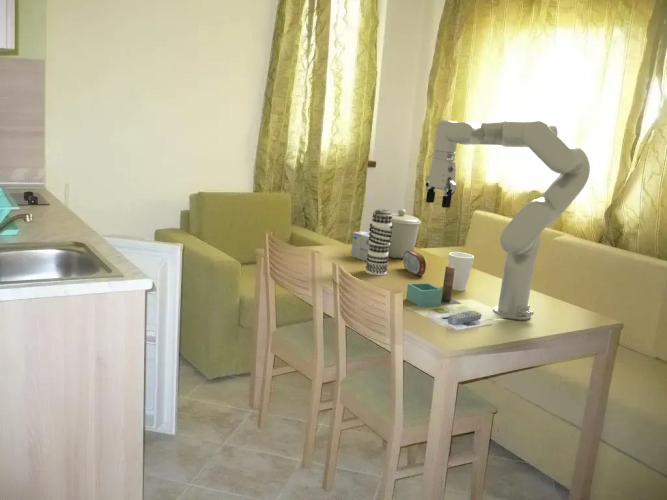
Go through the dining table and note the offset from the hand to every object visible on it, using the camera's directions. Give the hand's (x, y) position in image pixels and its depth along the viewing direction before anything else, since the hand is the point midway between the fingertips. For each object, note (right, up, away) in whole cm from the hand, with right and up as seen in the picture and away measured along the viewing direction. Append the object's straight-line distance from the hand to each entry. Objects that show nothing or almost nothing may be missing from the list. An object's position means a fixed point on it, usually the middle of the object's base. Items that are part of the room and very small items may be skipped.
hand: (437, 204), depth 246 cm
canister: (-9, -19, +62) cm, 65 cm away
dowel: (+2, -34, -3) cm, 34 cm away
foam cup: (+10, -31, +17) cm, 36 cm away
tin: (-5, -25, +35) cm, 43 cm away
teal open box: (-6, -34, -8) cm, 36 cm away
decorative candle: (-20, -25, +29) cm, 43 cm away
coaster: (+2, -34, -3) cm, 34 cm away
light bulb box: (-24, -20, +51) cm, 60 cm away
